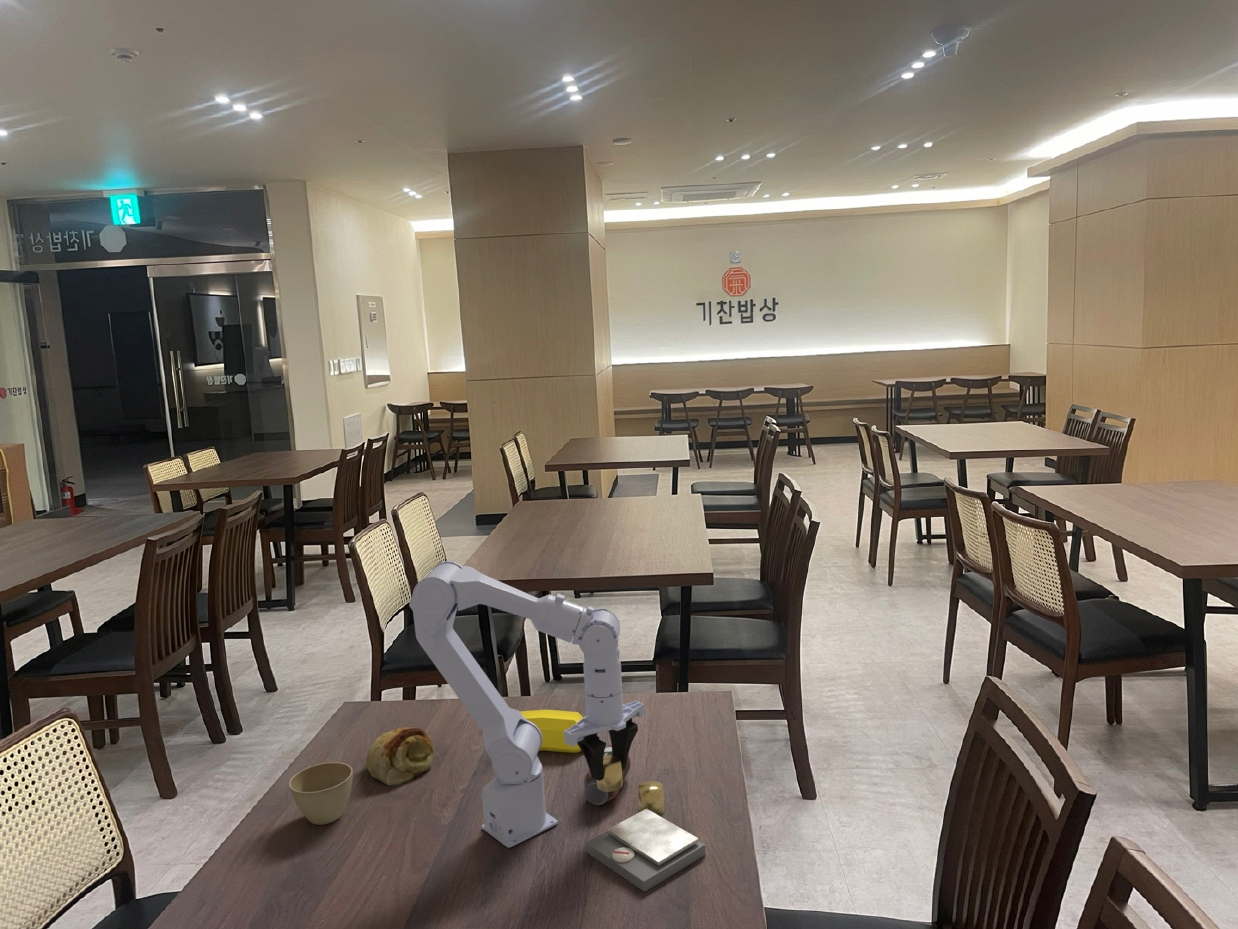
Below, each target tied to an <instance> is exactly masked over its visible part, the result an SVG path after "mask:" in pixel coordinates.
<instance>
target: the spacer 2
mask: <svg viewBox="0 0 1238 929" xmlns="http://www.w3.org/2000/svg"><path fill="white" fill-rule="evenodd" d="M637 789H638V809H639V812H641V811H643V810H645V809H648V810H650V811H652V812H653V813H655V814H657V815H659V816H661V815H662V814H663V813H664V811H665V800H664V798H665V796H664V785H663V784H662V783H661V782H659V781H656V780H646V781H643V782H641V783H639V785H638V788H637ZM639 812H638V813H639Z"/></svg>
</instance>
